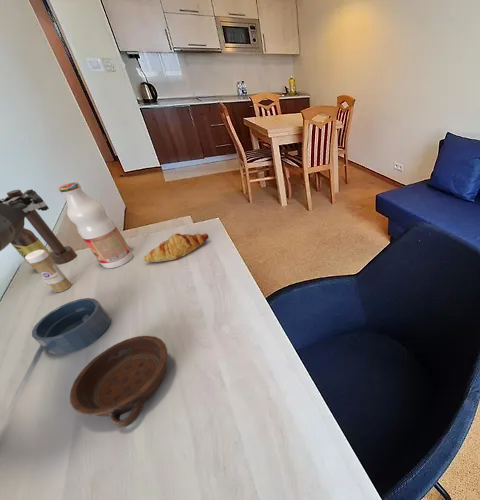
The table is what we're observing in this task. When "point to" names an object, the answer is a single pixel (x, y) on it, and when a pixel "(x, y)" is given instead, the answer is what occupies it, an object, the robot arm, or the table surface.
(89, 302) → the bowl
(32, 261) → the sprinkles bottle
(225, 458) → the table surface
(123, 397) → the dish
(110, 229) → the fruit juice
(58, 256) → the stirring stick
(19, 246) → the sauce bottle
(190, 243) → the croissant
